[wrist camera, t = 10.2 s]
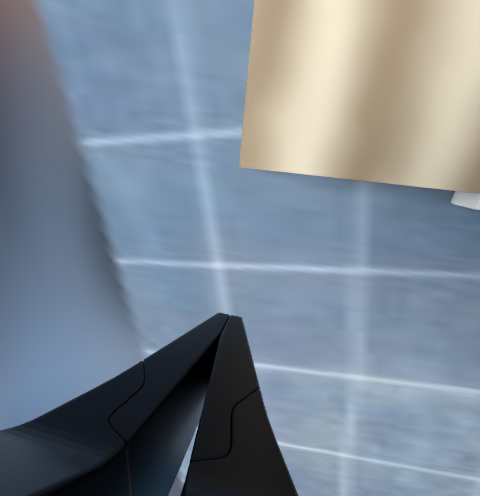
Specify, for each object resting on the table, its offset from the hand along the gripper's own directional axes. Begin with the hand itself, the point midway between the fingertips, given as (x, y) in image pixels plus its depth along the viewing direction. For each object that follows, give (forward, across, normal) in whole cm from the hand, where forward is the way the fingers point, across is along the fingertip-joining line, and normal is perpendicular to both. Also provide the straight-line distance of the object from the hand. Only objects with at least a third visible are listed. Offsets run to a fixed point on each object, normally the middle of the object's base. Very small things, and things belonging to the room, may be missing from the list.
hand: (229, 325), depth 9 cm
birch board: (+13, -5, -12) cm, 18 cm away
